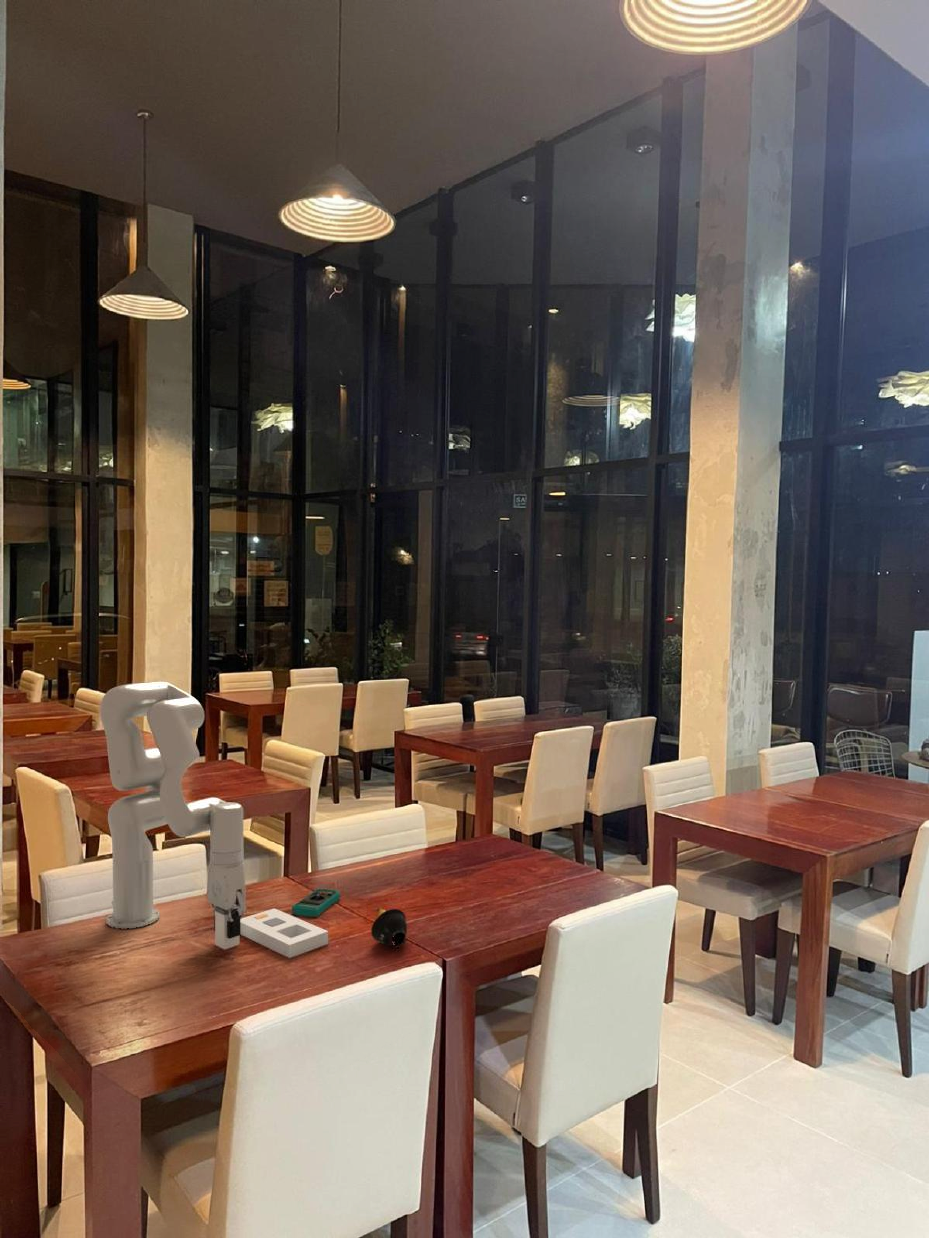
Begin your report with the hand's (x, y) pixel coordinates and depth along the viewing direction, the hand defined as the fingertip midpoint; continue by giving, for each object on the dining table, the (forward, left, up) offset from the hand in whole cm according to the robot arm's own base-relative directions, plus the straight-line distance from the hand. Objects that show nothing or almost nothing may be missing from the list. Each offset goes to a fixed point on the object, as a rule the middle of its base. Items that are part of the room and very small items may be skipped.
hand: (227, 932), depth 200 cm
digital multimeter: (-5, +30, -3) cm, 30 cm away
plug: (0, 0, -3) cm, 3 cm away
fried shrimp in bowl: (+24, +29, -3) cm, 38 cm away
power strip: (+6, +11, -3) cm, 13 cm away
